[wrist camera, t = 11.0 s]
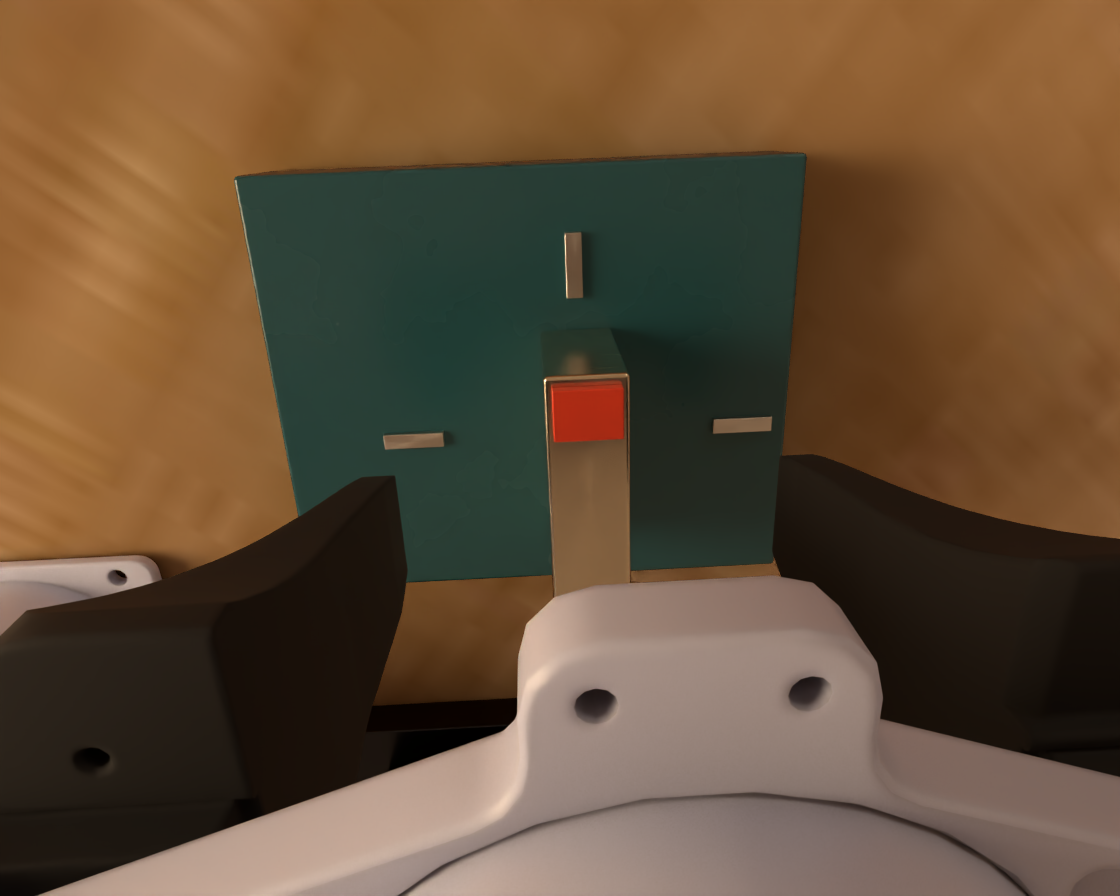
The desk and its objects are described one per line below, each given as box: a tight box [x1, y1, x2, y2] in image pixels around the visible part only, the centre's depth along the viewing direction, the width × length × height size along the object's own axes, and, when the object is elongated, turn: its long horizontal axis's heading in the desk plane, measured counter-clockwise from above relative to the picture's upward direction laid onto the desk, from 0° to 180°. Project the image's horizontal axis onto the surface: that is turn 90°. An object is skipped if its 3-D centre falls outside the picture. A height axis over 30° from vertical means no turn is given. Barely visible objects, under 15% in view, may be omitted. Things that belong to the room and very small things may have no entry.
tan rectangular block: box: [540, 328, 631, 598], centre depth 16 cm, size 5×2×4 cm, turn 2°
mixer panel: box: [234, 151, 807, 583], centre depth 19 cm, size 12×11×3 cm
